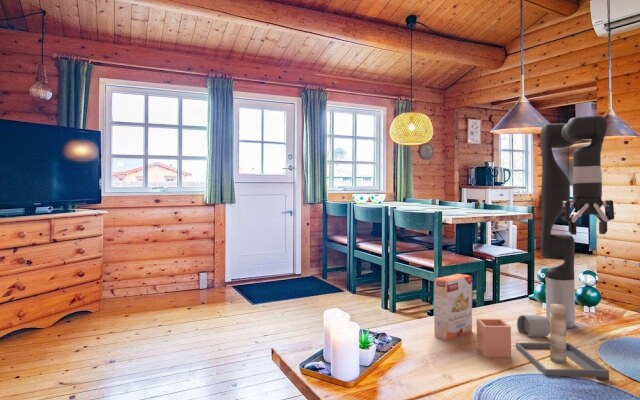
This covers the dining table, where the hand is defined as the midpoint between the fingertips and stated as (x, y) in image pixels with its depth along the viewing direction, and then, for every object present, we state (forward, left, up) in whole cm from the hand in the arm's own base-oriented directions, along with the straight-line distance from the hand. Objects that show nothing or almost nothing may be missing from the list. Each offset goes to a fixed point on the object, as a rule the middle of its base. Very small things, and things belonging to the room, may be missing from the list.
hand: (587, 234), depth 127 cm
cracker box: (-12, -38, -36) cm, 54 cm away
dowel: (+10, -14, -35) cm, 39 cm away
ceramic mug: (-14, -12, -36) cm, 41 cm away
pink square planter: (+4, -30, -36) cm, 47 cm away
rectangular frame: (+10, -14, -36) cm, 40 cm away
